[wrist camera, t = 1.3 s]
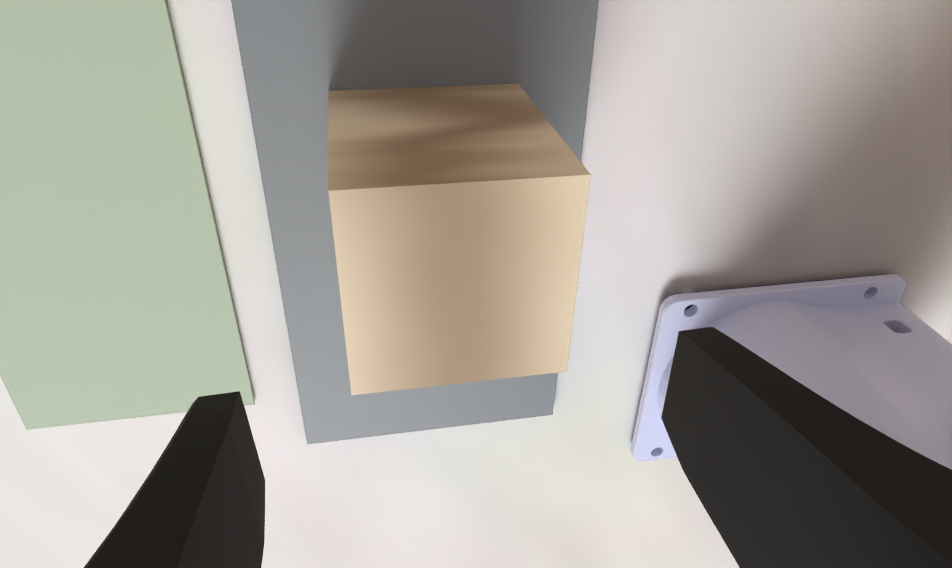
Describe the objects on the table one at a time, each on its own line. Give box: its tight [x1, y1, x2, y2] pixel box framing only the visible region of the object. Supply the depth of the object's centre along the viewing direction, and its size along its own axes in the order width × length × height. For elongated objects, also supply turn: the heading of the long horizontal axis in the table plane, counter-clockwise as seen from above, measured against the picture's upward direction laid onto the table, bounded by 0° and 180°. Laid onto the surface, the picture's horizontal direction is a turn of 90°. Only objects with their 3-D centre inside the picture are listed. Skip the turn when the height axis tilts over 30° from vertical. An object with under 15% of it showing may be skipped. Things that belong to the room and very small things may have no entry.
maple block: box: [328, 84, 591, 395], centre depth 16 cm, size 5×5×6 cm
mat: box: [0, 0, 255, 429], centre depth 17 cm, size 7×16×1 cm, turn 179°
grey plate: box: [231, 0, 599, 444], centre depth 19 cm, size 9×20×1 cm, turn 179°
